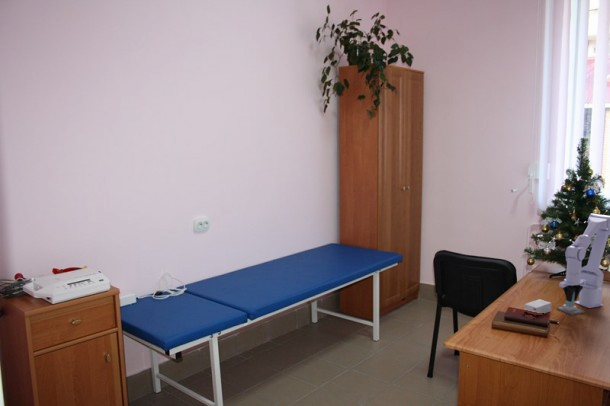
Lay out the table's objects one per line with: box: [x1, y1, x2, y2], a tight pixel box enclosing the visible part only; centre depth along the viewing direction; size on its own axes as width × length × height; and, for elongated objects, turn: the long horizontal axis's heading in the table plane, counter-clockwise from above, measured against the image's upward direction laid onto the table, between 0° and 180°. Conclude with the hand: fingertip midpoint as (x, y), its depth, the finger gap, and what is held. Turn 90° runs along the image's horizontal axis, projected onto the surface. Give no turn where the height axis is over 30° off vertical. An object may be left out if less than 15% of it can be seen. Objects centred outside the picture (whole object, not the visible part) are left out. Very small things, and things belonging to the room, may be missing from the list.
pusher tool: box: [562, 292, 577, 311], centre depth 215 cm, size 4×4×8 cm
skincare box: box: [523, 298, 552, 314], centre depth 214 cm, size 6×4×12 cm
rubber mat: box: [556, 305, 585, 316], centre depth 215 cm, size 8×8×1 cm
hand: (571, 300), depth 215 cm, fingers closed on pusher tool, 2 cm apart
